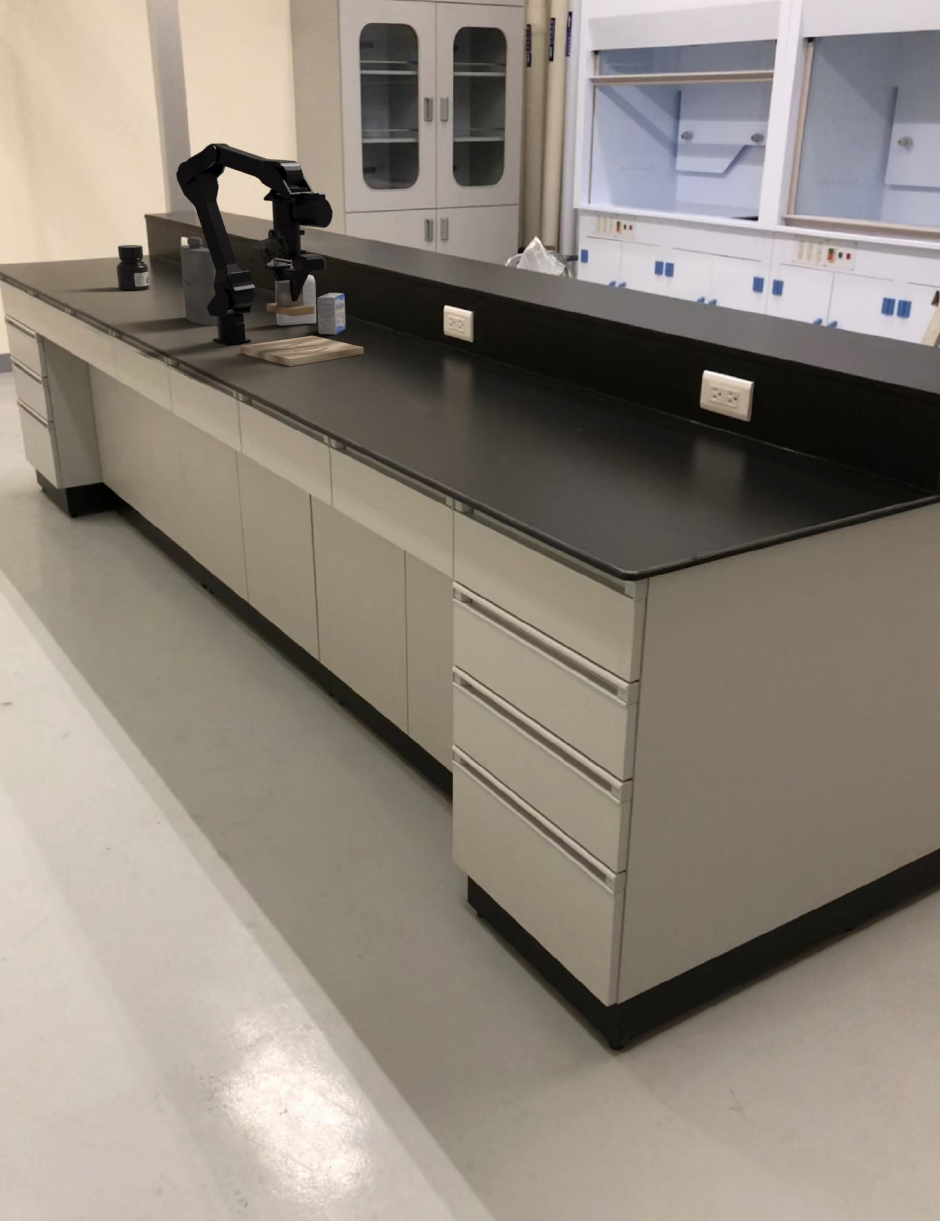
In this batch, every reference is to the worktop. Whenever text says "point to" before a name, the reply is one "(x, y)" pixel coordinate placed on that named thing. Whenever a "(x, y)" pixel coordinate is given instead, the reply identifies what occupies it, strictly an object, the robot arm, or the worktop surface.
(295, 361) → the sanding board
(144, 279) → the ink bottle
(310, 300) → the white rectangular bottle
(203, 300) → the flask
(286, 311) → the block
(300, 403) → the worktop surface
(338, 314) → the medicine box
